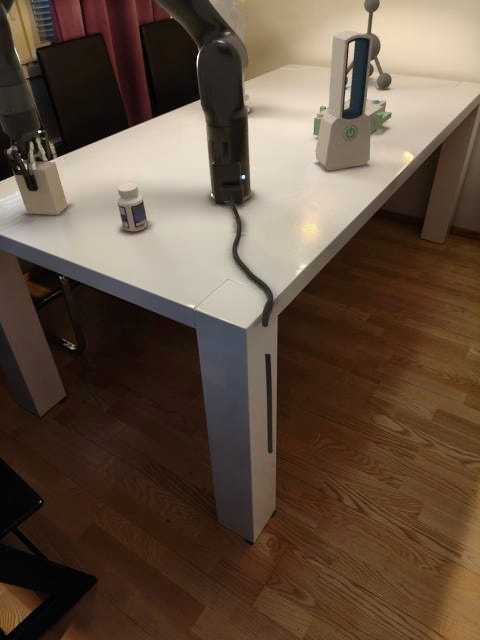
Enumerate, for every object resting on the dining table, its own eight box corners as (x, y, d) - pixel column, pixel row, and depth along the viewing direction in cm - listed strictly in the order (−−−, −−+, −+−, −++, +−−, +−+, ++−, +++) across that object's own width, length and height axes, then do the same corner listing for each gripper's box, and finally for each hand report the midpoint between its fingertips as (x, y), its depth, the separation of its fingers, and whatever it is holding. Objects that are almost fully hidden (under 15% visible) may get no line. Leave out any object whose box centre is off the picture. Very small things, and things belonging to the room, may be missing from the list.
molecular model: (320, 82, 200) (324, -5, 182) (368, 76, 205) (377, -10, 186) (347, 95, 182) (354, 0, 164) (399, 88, 187) (412, -5, 168)
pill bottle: (149, 220, 107) (142, 181, 102) (146, 231, 103) (138, 191, 98) (125, 221, 107) (116, 182, 102) (121, 232, 103) (112, 193, 98)
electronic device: (325, 171, 125) (333, 37, 106) (314, 161, 130) (320, 32, 112) (369, 164, 127) (385, 32, 108) (356, 155, 133) (369, 28, 114)
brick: (38, 204, 117) (24, 161, 111) (67, 205, 116) (55, 161, 109) (27, 213, 113) (11, 169, 107) (57, 215, 112) (44, 170, 105)
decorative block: (340, 93, 160) (399, 100, 150) (339, 114, 164) (396, 122, 154) (301, 113, 144) (364, 122, 134) (300, 136, 148) (362, 146, 138)
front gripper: (18, 98, 107) (41, 173, 117) (-22, 116, 96) (7, 198, 106) (49, 97, 105) (69, 174, 116) (12, 117, 94) (39, 199, 105)
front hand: (40, 185), depth 111 cm, fingers closed on brick, 5 cm apart
